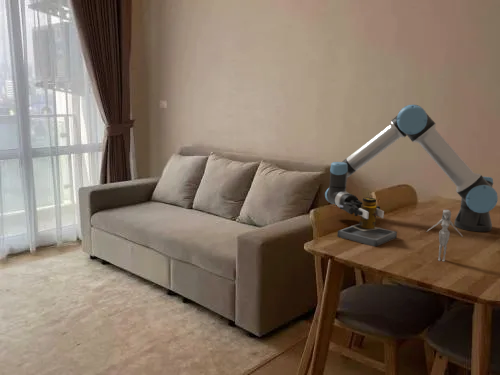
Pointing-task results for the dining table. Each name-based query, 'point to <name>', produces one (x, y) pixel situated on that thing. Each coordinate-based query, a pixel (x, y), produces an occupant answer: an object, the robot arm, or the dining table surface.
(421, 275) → the dining table surface
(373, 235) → the holder
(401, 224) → the dining table surface
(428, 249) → the dining table surface
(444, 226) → the human figurine
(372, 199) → the condiment
